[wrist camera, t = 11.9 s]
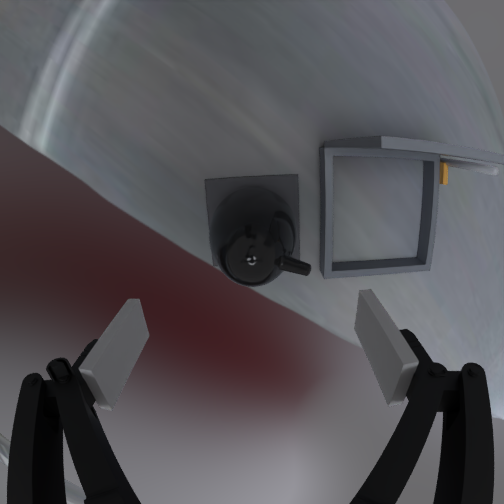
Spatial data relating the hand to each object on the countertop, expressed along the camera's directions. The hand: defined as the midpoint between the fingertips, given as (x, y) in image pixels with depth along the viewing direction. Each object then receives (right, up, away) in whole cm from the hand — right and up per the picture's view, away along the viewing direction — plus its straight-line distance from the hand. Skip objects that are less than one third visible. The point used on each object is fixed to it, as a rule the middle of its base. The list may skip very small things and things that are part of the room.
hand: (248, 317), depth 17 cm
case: (+18, +10, +21) cm, 29 cm away
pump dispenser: (+1, +8, +22) cm, 23 cm away
